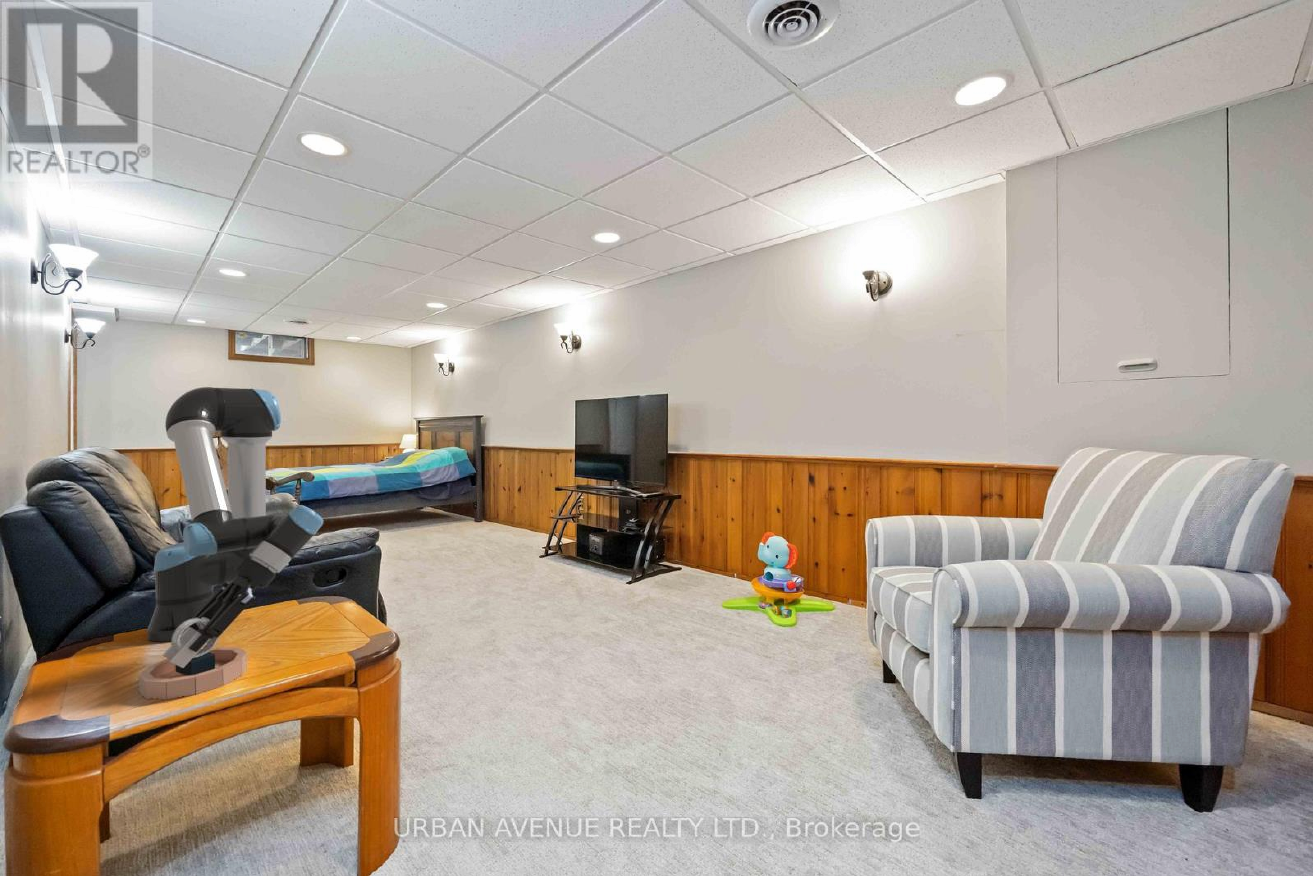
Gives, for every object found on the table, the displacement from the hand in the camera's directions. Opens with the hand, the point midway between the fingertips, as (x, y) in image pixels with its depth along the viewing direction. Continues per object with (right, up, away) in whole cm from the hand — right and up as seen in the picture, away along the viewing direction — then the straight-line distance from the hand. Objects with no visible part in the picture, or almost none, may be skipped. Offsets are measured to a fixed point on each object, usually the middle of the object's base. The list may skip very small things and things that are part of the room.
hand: (172, 661), depth 114 cm
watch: (+2, -3, +3) cm, 5 cm away
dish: (+2, -5, +3) cm, 6 cm away
